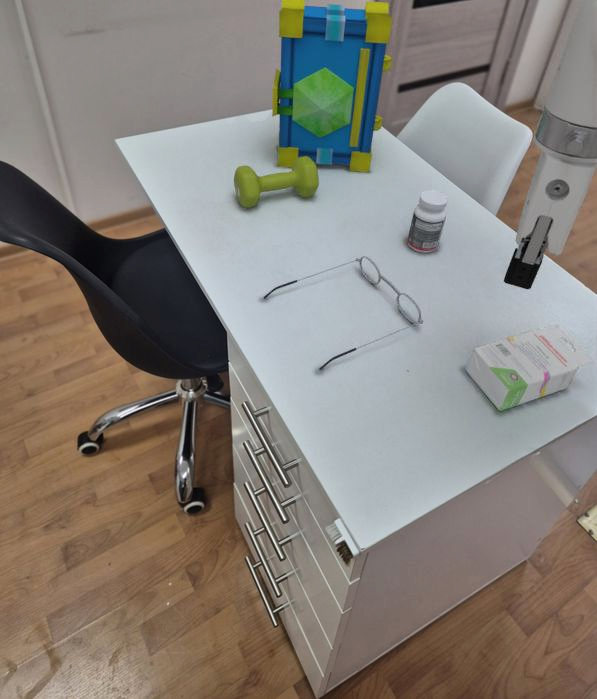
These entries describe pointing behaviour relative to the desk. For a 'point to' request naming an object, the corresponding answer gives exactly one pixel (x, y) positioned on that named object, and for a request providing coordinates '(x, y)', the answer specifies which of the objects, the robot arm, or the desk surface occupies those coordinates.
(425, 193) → the pill bottle
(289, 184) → the dumbbell
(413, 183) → the desk surface
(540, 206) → the robot arm
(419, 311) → the eyeglasses
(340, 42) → the decorative book
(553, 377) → the ink box
